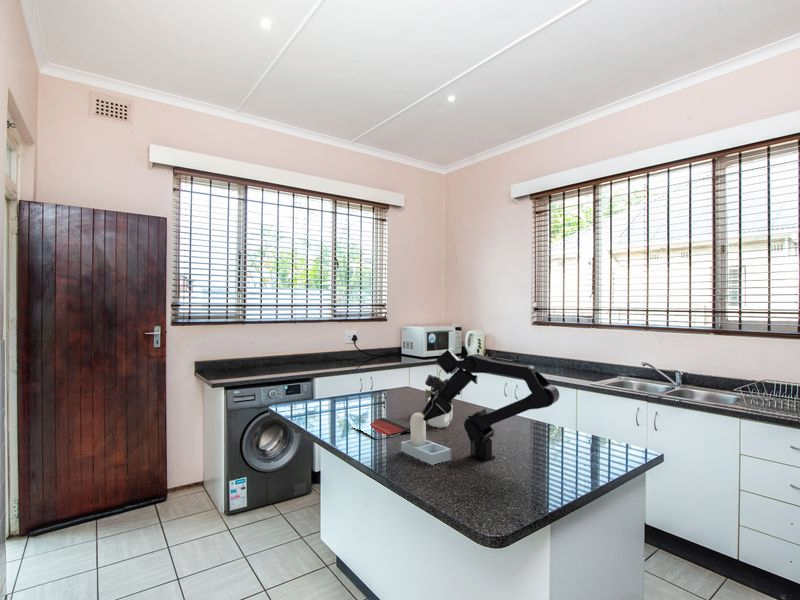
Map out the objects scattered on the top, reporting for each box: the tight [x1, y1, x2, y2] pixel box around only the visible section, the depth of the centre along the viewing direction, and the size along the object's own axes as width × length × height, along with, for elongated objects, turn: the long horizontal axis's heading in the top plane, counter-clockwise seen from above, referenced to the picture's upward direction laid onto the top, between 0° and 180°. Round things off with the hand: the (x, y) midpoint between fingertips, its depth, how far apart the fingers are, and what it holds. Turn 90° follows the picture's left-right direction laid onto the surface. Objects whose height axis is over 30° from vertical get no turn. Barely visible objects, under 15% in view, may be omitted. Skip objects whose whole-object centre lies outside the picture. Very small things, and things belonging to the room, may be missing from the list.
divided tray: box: [400, 439, 452, 466], centre depth 142 cm, size 16×8×4 cm, turn 38°
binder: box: [370, 417, 410, 436], centre depth 172 cm, size 16×2×21 cm
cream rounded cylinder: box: [409, 412, 427, 448], centre depth 145 cm, size 5×5×13 cm
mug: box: [427, 397, 454, 429], centre depth 178 cm, size 12×9×11 cm
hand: (423, 416), depth 145 cm, fingers open, 9 cm apart
